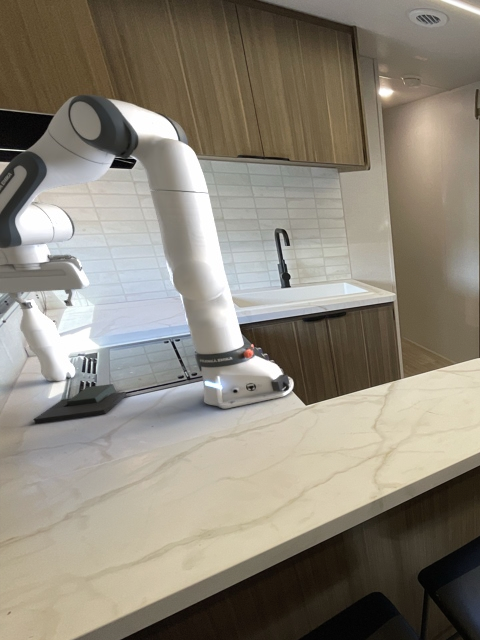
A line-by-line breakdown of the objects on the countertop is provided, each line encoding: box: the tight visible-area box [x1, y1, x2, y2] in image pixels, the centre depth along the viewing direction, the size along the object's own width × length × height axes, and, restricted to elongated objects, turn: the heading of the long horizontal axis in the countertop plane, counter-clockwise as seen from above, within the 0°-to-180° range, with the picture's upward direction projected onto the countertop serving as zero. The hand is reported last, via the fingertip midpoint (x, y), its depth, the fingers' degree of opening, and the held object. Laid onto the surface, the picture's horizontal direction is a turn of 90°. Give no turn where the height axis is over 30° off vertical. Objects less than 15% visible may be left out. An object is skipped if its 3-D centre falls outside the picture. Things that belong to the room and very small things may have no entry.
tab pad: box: [67, 383, 117, 406], centre depth 112 cm, size 6×10×2 cm, turn 21°
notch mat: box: [33, 391, 127, 424], centre depth 107 cm, size 14×12×1 cm
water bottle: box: [19, 298, 76, 382], centre depth 122 cm, size 7×7×25 cm
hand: (49, 307), depth 112 cm, fingers open, 8 cm apart
